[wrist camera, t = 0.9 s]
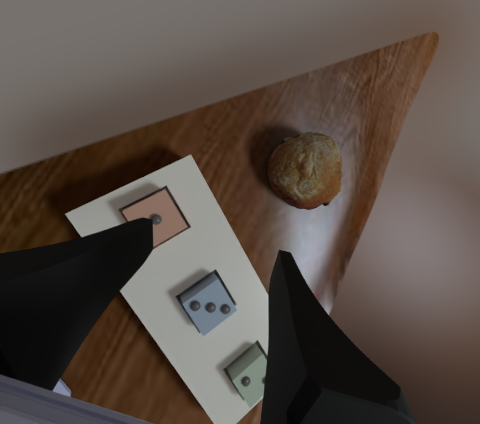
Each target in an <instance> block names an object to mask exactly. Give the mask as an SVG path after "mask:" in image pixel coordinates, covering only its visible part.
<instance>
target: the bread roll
mask: <svg viewBox="0 0 480 424" xmlns="http://www.w3.org/2000/svg"><path fill="white" fill-rule="evenodd" d="M267 173H268V179H269V183H270V186H271V187H272V189H273V191H274V192H275V193H277V195H278V196H280V197H281V198H282V199H283V200H284V201H286V202H287V203H288V204H290V205H291V206H294V207H296V208H298V209H307V210H311V209H314V208H317V207H318V206H320V205H322V204H323V205H324V206H327V205H329V203H330V202H331V201H332V199H333V198H334V197H335V196H336V195H337V194H338V192H340V191H341V177H342V160H341V152H340V148H339V146H338V145H337V143H336V142H335V141H334V140H333V139H332V138H331V137H329V136H326V135H323V134H320V133H312V132H306V133H305V134H299V135H297V137H294V138H293V137H287V138H285V139H284V140H283V143H281V144H280V145H279V146H277V148H276V149H274V151H273V153H272V154H271V156H270V158H269V160H268V166H267Z"/></svg>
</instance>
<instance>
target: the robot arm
mask: <svg viewBox="0 0 480 424" xmlns="http://www.w3.org/2000/svg"><path fill="white" fill-rule="evenodd" d="M153 249H154V246H153V220H152V219H148V218H144V217H141V218H138V219H135V220H132V221H129V222H126V223H123V224H120V225H117V226H114V227H112V228H109V229H106V230H103V231H100V232H97V233H93V234H90V235H87V236H84V237H81V238H77V239H73V240H70V241H65V242H61V243H57V244H53V245H48V246H42V247H37V248H32V249H27V250H21V251H14V252H7V253H0V424H153V423H150V422H147V421H144V420H141V419H137V418H134V417H131V416H128V415H125V414H122V413H119V412H116V411H112V410H109V409H106V408H103V407H100V406H97V405H94V404H91V403H87V402H84V401H81V400H78V399H75V398H72V397H70V395H71V390H70V389H69V388H68V387H67V385H66V384H65V383H64V382H63V381H62V380H61V379H60V378H61V376H62V374H63V373H64V371H65V369H66V368H67V366H68V364H69V363H70V361H71V360H72V358H73V356H74V355H75V353H76V352H77V350H78V349H79V347H80V345H81V344H82V342H83V341H84V339H85V338H86V336H87V335H88V333H89V332H90V330H91V329H92V327H93V326H94V324H95V323H96V322H97V320H98V319H99V317H100V316H101V314H102V313H103V312H104V310H105V309H106V308H107V306H108V305H109V303H110V302H111V301H112V300H113V298H114V297H115V296H116V295H117V294H118V292H119V291H120V290H121V289H122V288H123V287H124V286H125V285H126V283H127V282H128V281H129V280H130V279H131V278H132V277H133V275H134V274H135V273H136V272H137V271H138V270H139V269H140V267H141V266H142V265H143V264H144V263H145V261H146V260H147V258H148V257H149V255H150V254H151V252H152V250H153ZM268 336H269V337H268V353H267V365H266V375H265V385H264V395H263V404H262V413H261V422H260V424H416V422H415V420H414V418H413V415H412V413H411V410H410V408H409V405H408V403H407V401H406V399H405V397H404V395H403V392H402V390H401V388H400V386H398V385H397V384H396V383H395V382H394V381H393V380H392V379H391V378H389V377H388V376H387V375H386V374H385V373H384V372H383V371H382V370H381V369H379V368H378V367H377V366H376V365H375V364H374V363H373V362H372V361H370V359H369V358H367V357H366V355H364V354H363V353H362V352H361V351H360V350H359V349H358V348H357V347H356V346H355V345H354V344H353V342H352V341H351V340H350V339H349V338H348V337H347V336H346V335H345V334H344V333H343V332H342V330H341V329H340V328H339V327H338V326H337V325H336V324H335V322H334V321H333V320H332V319H331V318H330V316H329V315H328V314H327V313H326V311H325V310H324V309H323V307H322V306H321V305H320V303H319V302H318V300H317V299H316V297H315V296H314V294H313V293H312V291H311V290H310V288H309V286H308V285H307V283H306V281H305V279H304V278H303V276H302V274H301V272H300V270H299V268H298V266H297V264H296V262H295V260H294V258H293V256H292V254H291V253H290V252H286V251H282V250H279V252H278V255H277V259H276V262H275V265H274V268H273V271H272V275H271V278H270V286H269V295H268Z"/></svg>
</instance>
